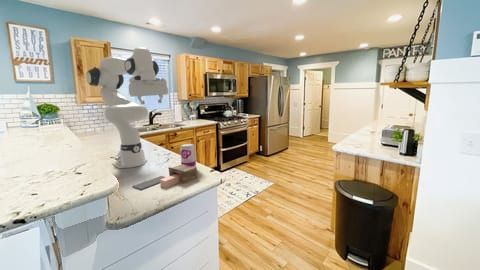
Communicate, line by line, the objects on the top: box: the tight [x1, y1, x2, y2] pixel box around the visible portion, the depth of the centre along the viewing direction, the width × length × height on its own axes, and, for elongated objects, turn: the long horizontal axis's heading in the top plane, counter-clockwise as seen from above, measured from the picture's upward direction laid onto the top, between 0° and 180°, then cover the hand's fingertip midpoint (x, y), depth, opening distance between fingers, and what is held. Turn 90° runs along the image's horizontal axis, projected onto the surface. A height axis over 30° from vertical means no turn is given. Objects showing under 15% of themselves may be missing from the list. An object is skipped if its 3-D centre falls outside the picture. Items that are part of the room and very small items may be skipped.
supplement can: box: [179, 143, 197, 167], centre depth 125 cm, size 8×8×15 cm
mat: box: [132, 175, 167, 191], centre depth 107 cm, size 7×16×1 cm, turn 145°
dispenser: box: [167, 164, 198, 184], centre depth 112 cm, size 11×9×6 cm
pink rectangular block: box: [159, 173, 181, 189], centre depth 108 cm, size 4×14×4 cm, turn 145°
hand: (151, 103), depth 118 cm, fingers open, 8 cm apart
